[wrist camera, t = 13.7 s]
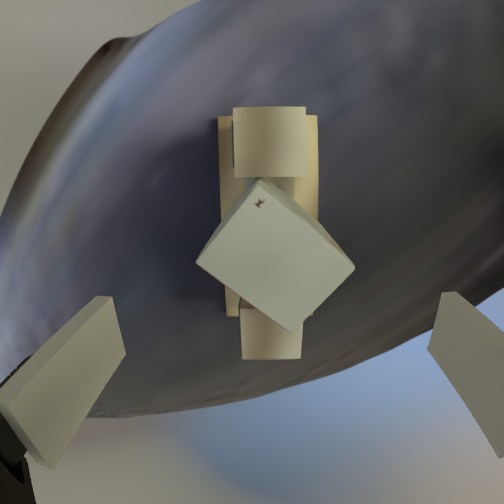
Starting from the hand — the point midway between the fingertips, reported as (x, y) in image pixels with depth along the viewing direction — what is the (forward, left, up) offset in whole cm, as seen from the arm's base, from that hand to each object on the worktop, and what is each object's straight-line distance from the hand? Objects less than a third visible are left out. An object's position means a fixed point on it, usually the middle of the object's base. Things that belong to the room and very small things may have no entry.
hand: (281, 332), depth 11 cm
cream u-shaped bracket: (0, 0, -22) cm, 22 cm away
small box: (0, 0, -21) cm, 21 cm away
